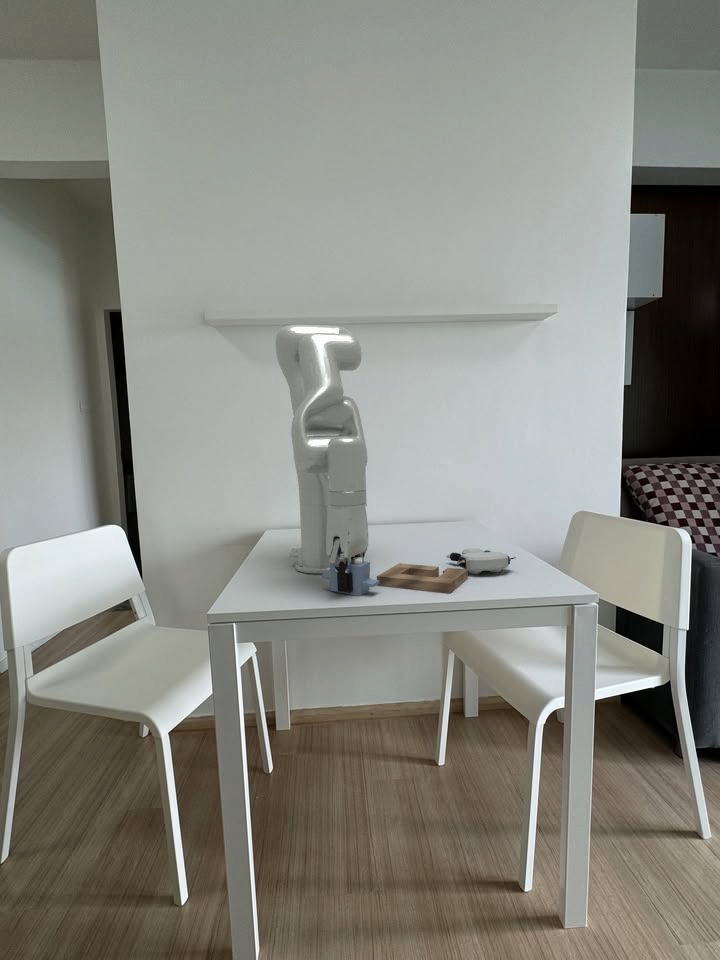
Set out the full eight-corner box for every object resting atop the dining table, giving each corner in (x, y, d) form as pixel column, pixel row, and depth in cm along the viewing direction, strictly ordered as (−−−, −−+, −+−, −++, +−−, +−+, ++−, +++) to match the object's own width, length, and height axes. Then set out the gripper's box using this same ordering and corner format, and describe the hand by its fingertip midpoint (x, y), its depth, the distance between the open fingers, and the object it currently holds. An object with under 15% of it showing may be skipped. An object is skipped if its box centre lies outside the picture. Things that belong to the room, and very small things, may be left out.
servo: (319, 588, 113) (319, 555, 112) (329, 583, 117) (329, 551, 116) (371, 598, 108) (372, 563, 107) (380, 592, 111) (381, 559, 110)
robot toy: (443, 567, 133) (464, 578, 118) (443, 548, 133) (464, 557, 118) (491, 564, 135) (518, 574, 120) (491, 545, 135) (517, 554, 120)
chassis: (377, 585, 116) (376, 576, 116) (399, 571, 126) (399, 563, 126) (450, 593, 108) (450, 583, 108) (467, 578, 119) (467, 569, 119)
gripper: (351, 494, 119) (353, 576, 121) (309, 504, 105) (313, 598, 106) (382, 494, 116) (384, 580, 117) (343, 505, 101) (347, 602, 103)
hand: (350, 587), depth 112 cm, fingers closed on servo, 3 cm apart
